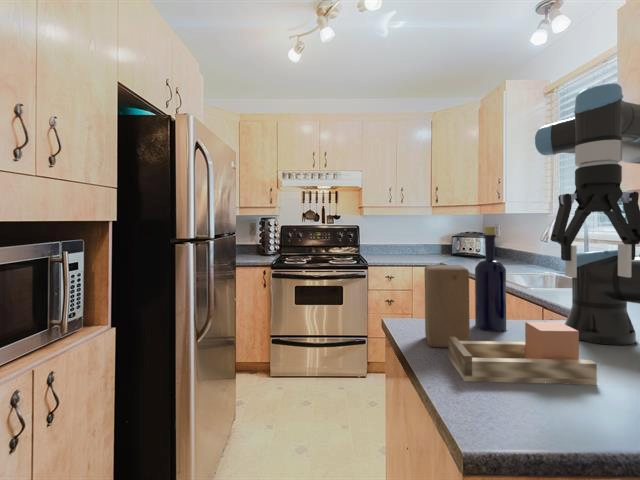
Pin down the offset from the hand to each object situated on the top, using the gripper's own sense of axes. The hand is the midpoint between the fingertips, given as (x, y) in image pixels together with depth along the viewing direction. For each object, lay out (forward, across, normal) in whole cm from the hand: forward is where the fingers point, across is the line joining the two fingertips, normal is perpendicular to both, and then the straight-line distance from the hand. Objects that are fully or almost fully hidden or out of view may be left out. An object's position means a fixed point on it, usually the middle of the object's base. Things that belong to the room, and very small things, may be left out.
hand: (597, 276), depth 74 cm
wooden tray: (+20, +16, 0) cm, 25 cm away
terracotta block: (+18, +9, 0) cm, 20 cm away
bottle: (+20, +10, -33) cm, 40 cm away
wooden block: (+20, +26, -18) cm, 37 cm away
